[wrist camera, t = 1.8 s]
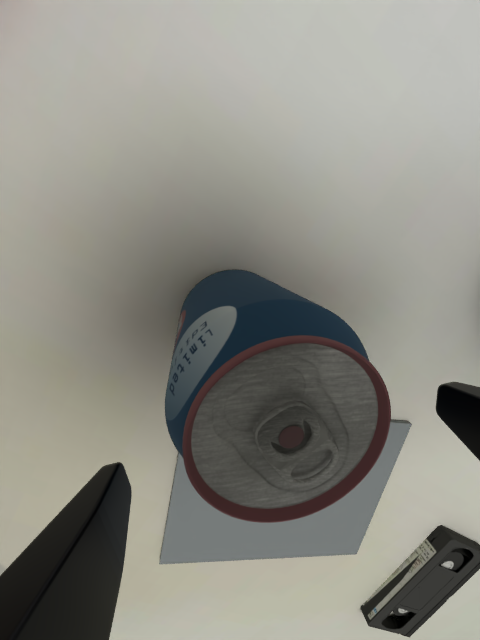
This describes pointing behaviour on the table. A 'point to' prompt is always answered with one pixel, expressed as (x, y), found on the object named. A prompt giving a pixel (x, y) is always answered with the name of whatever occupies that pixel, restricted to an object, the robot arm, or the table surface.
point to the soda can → (271, 400)
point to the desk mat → (281, 537)
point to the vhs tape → (423, 582)
